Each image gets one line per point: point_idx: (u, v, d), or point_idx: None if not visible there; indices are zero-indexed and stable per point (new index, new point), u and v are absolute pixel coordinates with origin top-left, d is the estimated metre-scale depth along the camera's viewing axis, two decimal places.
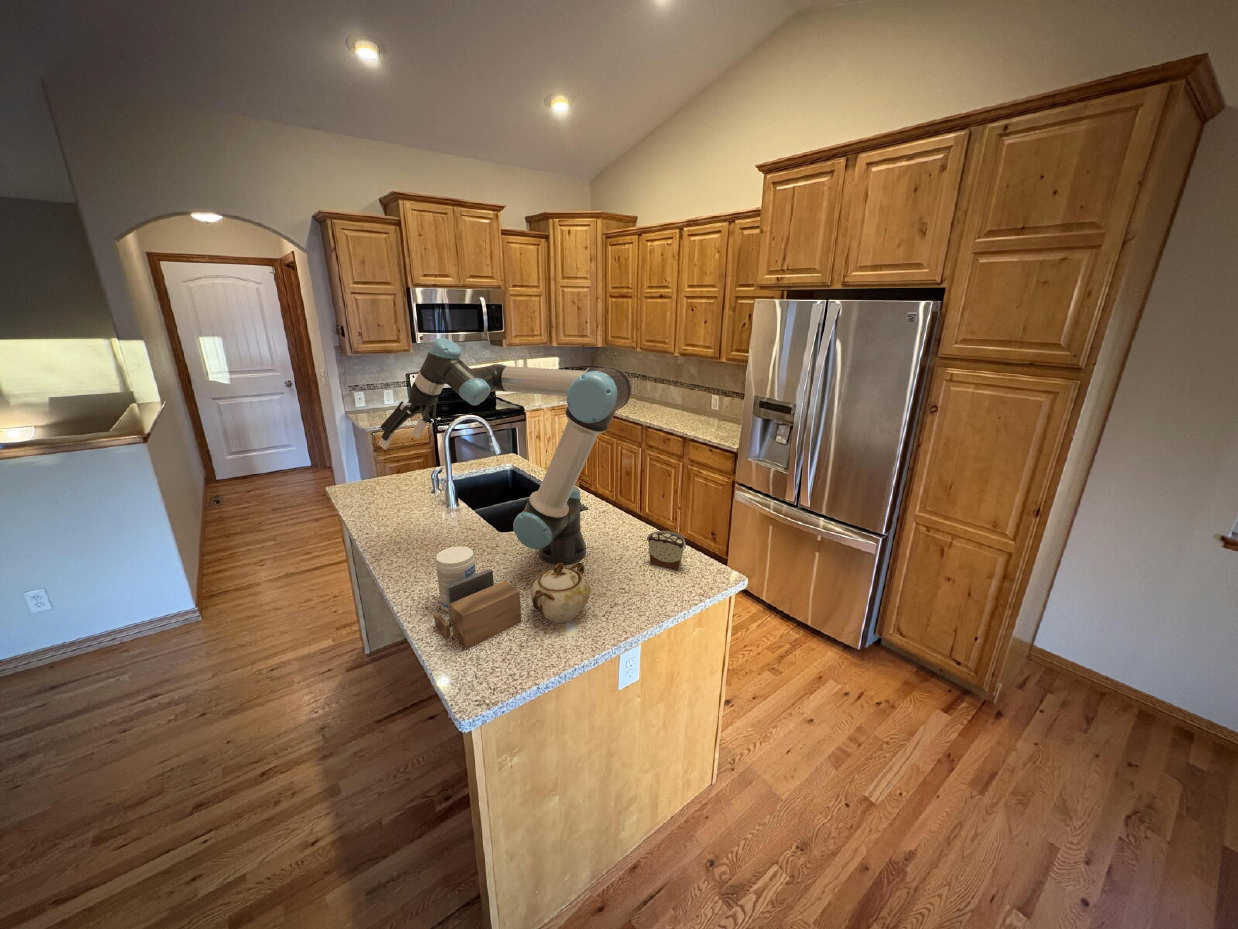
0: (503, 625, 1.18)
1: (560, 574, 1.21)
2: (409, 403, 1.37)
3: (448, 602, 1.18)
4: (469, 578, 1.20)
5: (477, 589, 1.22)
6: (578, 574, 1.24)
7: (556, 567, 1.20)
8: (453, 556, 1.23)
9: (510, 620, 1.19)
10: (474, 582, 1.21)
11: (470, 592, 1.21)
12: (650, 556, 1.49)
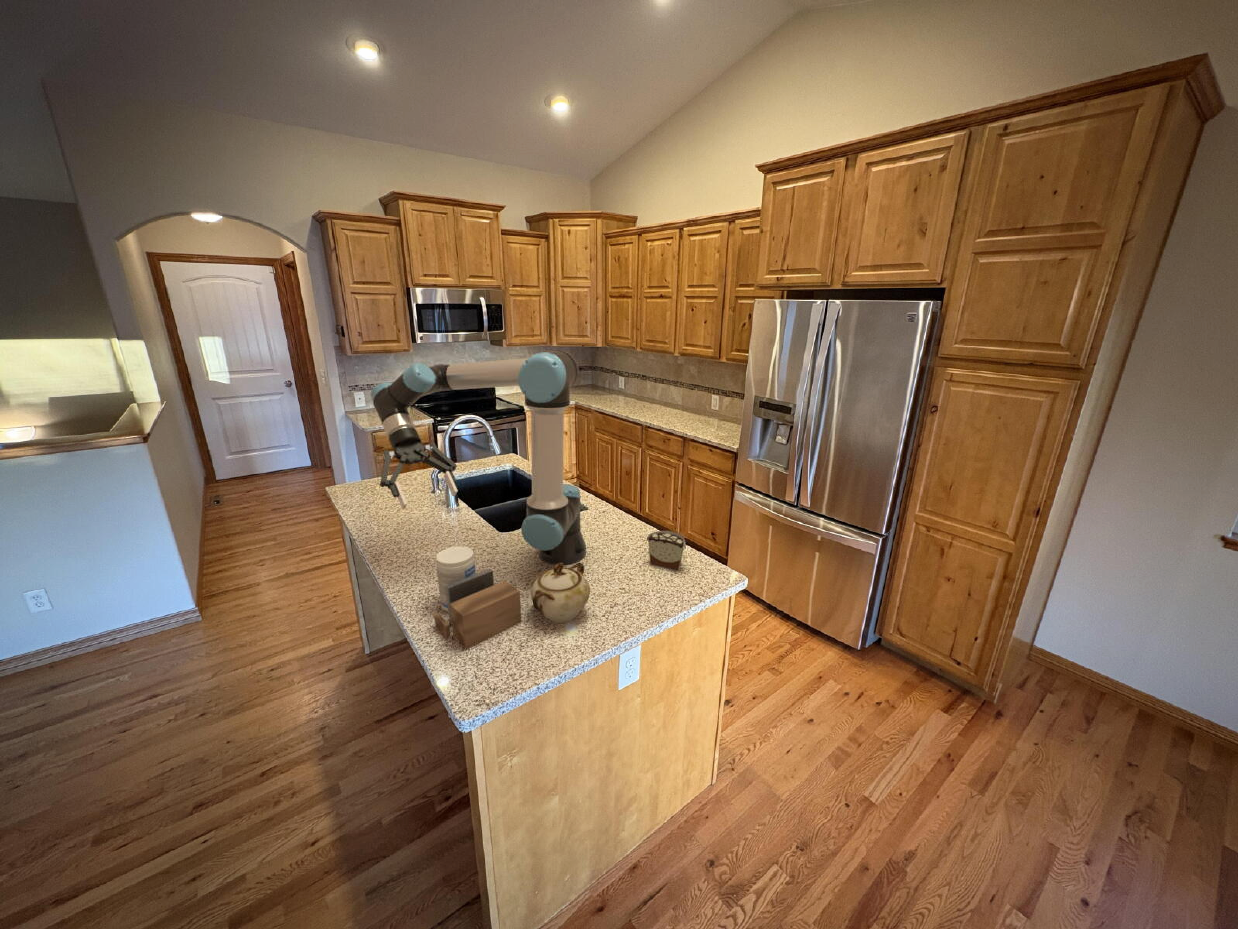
0: (503, 625, 1.18)
1: (560, 574, 1.21)
2: None
3: (448, 602, 1.18)
4: (469, 578, 1.20)
5: (477, 589, 1.22)
6: (578, 574, 1.24)
7: (556, 567, 1.20)
8: (453, 556, 1.23)
9: (510, 620, 1.19)
10: (474, 582, 1.21)
11: (470, 592, 1.21)
12: (650, 556, 1.49)
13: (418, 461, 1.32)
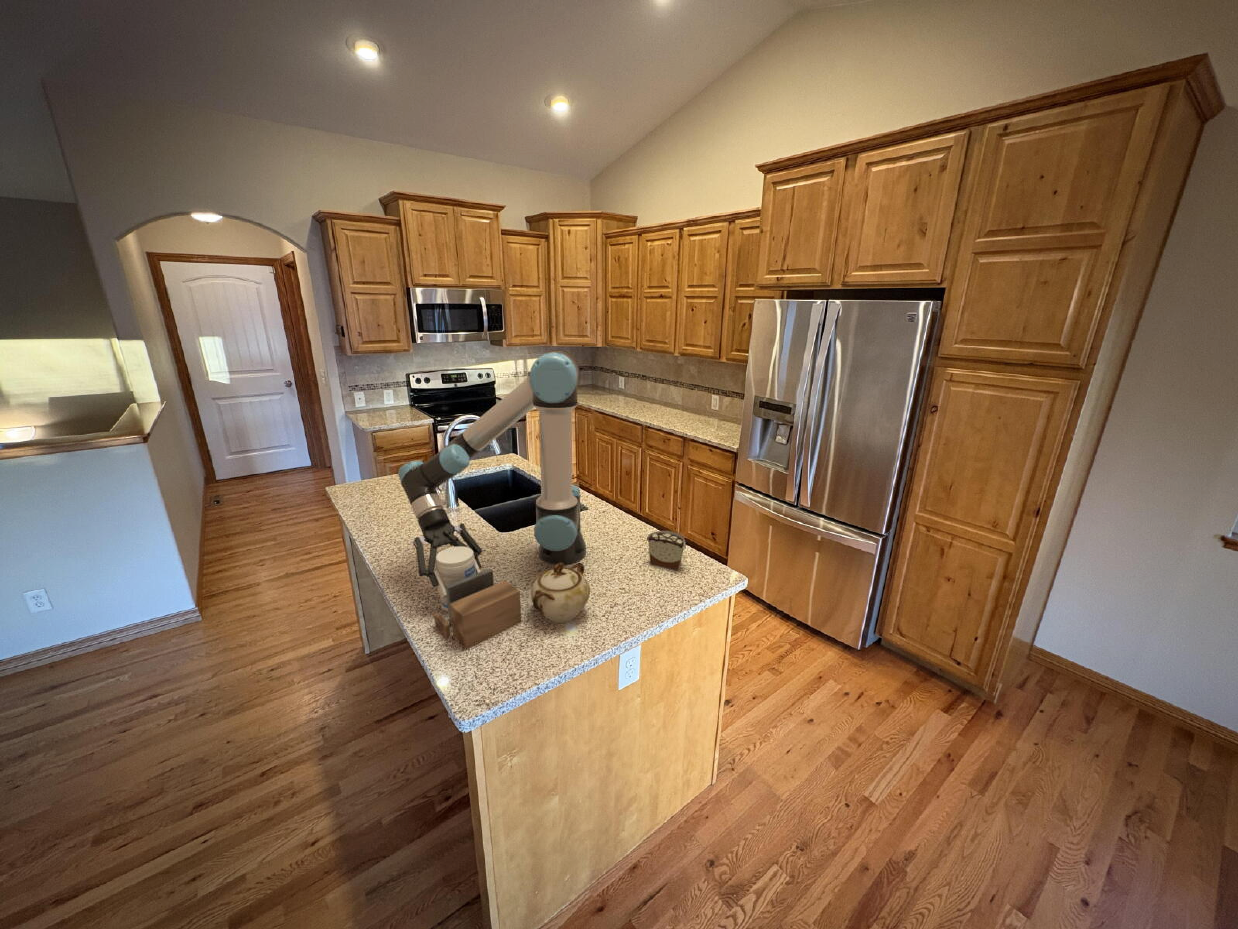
0: (503, 625, 1.18)
1: (560, 574, 1.21)
2: None
3: (448, 602, 1.18)
4: (469, 578, 1.20)
5: (477, 589, 1.22)
6: (578, 574, 1.24)
7: (556, 567, 1.20)
8: (453, 556, 1.23)
9: (510, 620, 1.19)
10: (474, 582, 1.21)
11: (470, 592, 1.21)
12: (650, 556, 1.49)
13: (447, 543, 1.29)
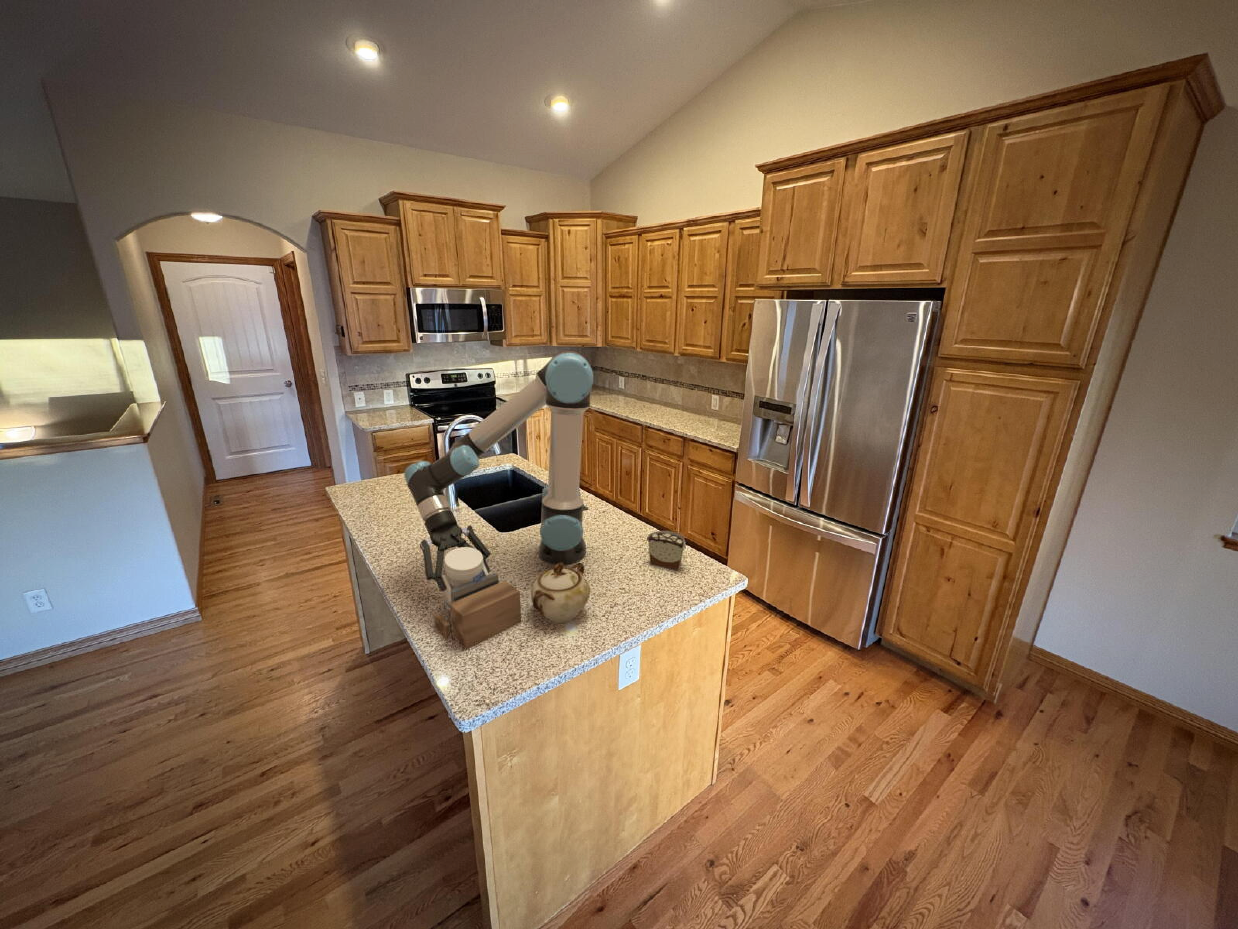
0: (503, 625, 1.18)
1: (560, 574, 1.21)
2: None
3: None
4: (474, 582, 1.18)
5: None
6: (578, 574, 1.24)
7: (556, 567, 1.20)
8: (462, 560, 1.20)
9: (510, 620, 1.19)
10: (479, 586, 1.19)
11: None
12: (650, 556, 1.49)
13: (455, 546, 1.26)
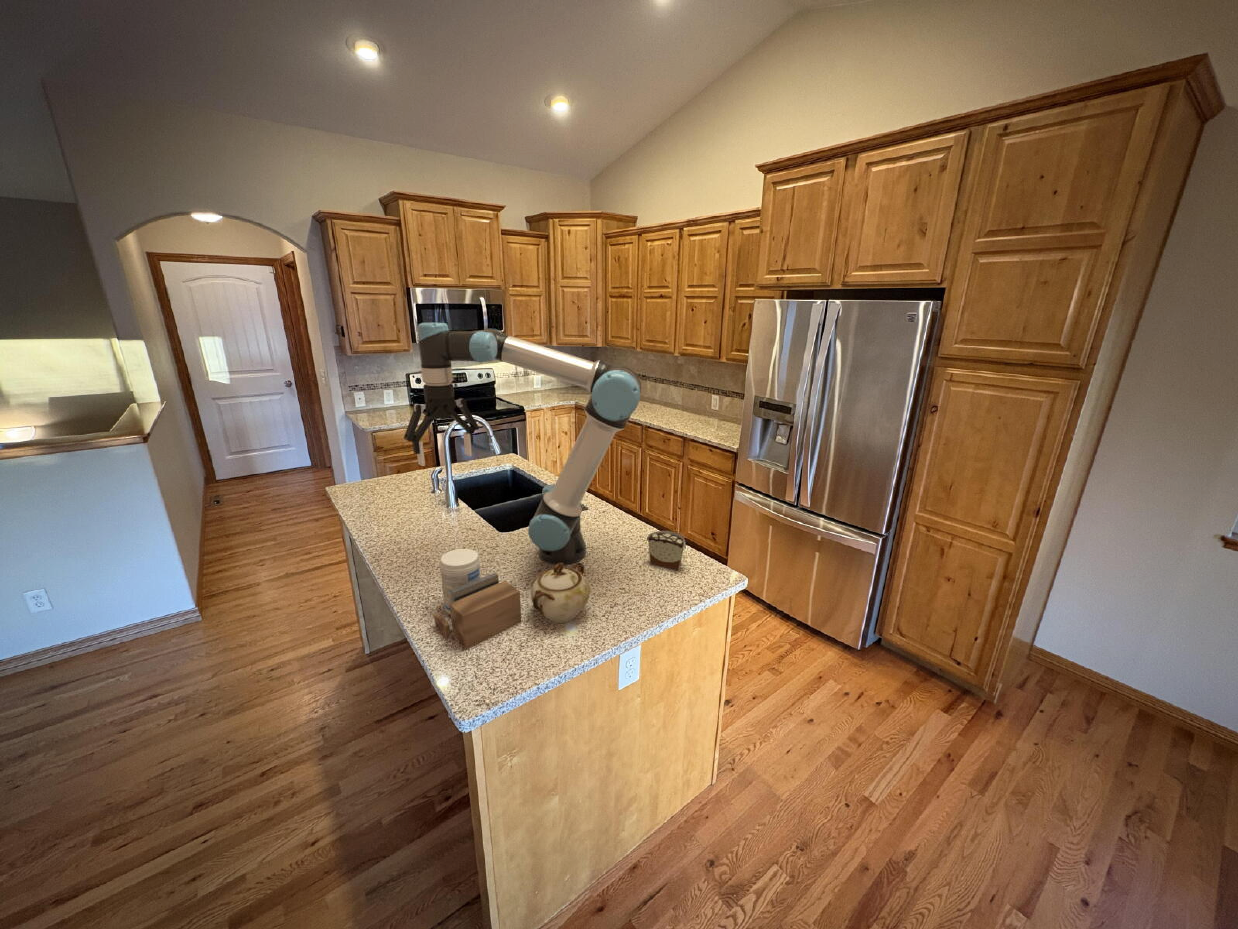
0: (503, 625, 1.18)
1: (560, 574, 1.21)
2: (424, 404, 1.27)
3: None
4: (474, 582, 1.18)
5: None
6: (578, 574, 1.24)
7: (556, 567, 1.20)
8: (457, 558, 1.22)
9: (510, 620, 1.19)
10: (479, 586, 1.19)
11: None
12: (650, 556, 1.49)
13: None
